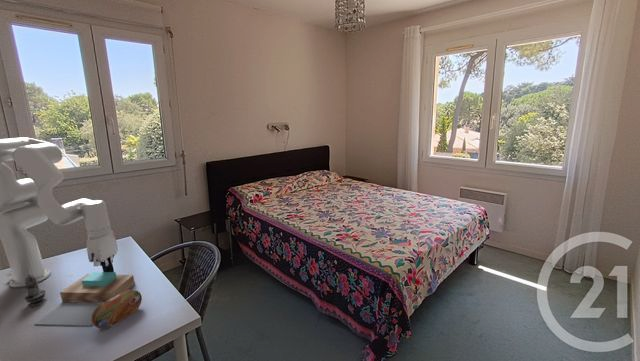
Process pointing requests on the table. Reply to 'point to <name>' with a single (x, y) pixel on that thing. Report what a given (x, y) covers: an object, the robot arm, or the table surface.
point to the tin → (116, 309)
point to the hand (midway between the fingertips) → (109, 272)
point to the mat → (70, 315)
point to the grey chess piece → (34, 292)
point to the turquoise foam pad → (99, 279)
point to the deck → (96, 290)
